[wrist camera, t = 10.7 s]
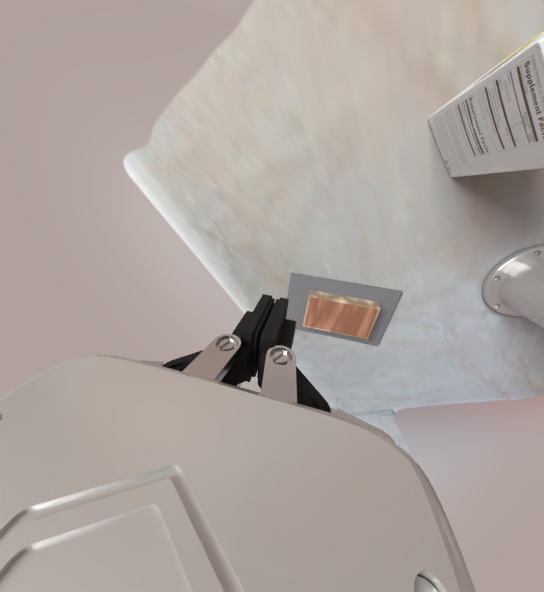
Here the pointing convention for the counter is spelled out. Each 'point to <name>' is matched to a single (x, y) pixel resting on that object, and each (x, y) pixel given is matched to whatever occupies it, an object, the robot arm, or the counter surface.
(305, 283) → the rubber mat
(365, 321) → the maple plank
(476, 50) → the counter surface
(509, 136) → the supplement box
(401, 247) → the counter surface
